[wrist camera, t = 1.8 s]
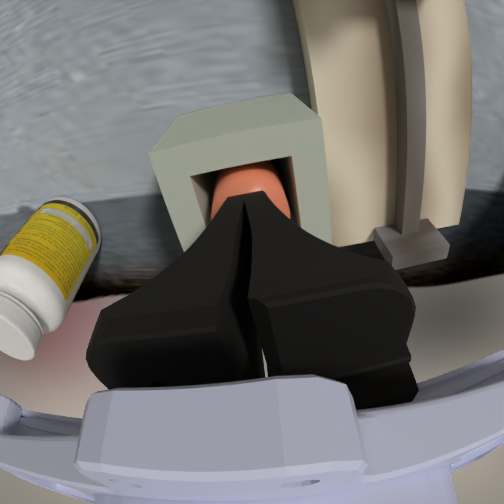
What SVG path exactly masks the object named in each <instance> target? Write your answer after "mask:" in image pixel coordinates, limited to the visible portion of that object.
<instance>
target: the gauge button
mask: <svg viewBox="0 0 504 504" xmlns="http://www.w3.org/2000/svg"><path fill="white" fill-rule="evenodd" d="M261 190H263V191H264V192H265V193H266V194H267V196H268V197H269V198H270V200H271V201H272V202H273V203H274V204H275V205H276V206H277V208H279V209H280V210H281V211H282V212H283V213H284V214H285V215H286V216H287V217H288V218H289V219H290V209H289V206H288V202H287V199H286V196H285V193H284V189H283V186H282V183H281V180H280V177H279V174H278V171H277V169H276V168H275V166H274V165H273V164H272V163H271V162H270V161H269V160H265V161H260V162H255V163H249V164H244V165H239V166H234V167H229V168H224V169H220V170H219V171H218V173H217V177H216V182H215V190H214V197H213V204H212V212H211V220H212V219H213V218H214V216H215V215H216V213H217V212H218V210H219V209H220V207H221V206H222V204H223V203H224V201H225V200H226V199H227V197H230V196H235V195H240V194H245V193H251V192H256V191H261Z"/></svg>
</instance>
